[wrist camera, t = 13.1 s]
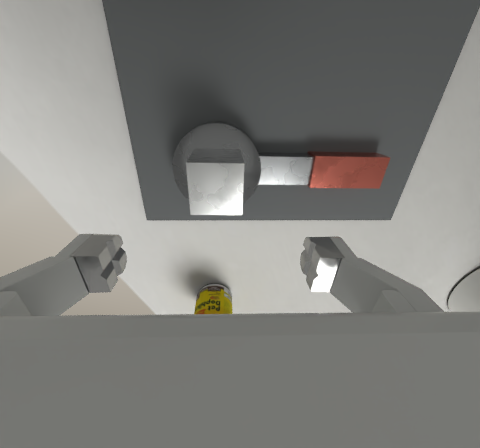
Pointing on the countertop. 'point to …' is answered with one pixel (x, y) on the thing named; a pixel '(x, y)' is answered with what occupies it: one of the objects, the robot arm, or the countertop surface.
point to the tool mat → (285, 89)
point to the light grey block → (215, 181)
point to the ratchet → (280, 162)
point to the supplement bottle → (214, 300)
